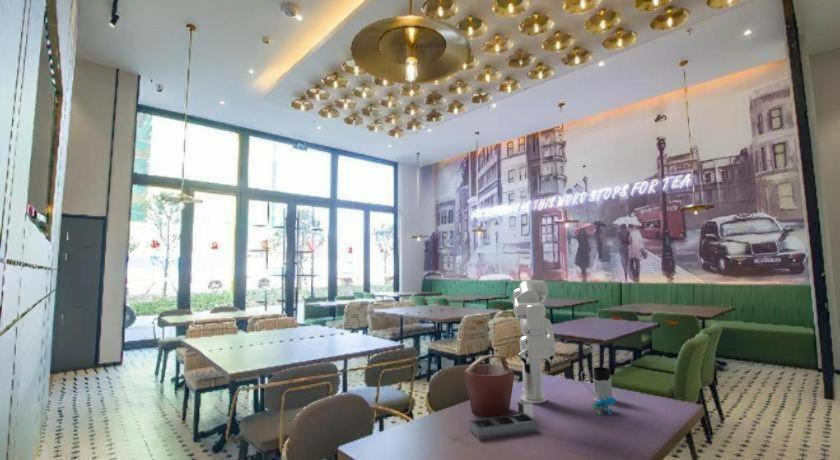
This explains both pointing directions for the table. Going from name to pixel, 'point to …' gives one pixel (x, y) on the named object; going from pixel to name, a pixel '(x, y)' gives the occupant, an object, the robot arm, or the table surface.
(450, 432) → the table surface
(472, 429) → the grey compartment tray
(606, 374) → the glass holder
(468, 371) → the bucket
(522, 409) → the white slotted box
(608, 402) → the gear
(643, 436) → the table surface
